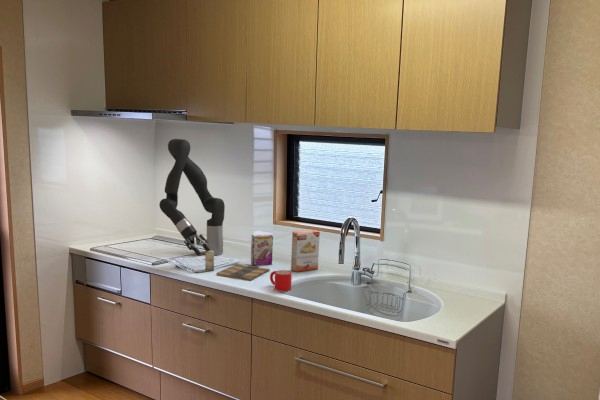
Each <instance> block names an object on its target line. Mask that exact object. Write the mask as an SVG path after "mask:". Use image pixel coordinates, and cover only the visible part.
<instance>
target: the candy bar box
mask: <svg viewBox="0 0 600 400" xmlns="http://www.w3.org/2000/svg"><path fill="white" fill-rule="evenodd" d="M273 244H274V236H273V235H272V234H271V233H270V234H269V233H268V234H267V233H266V234H251V247H250V249H251V251H250V264H251V266H256V267H257V266H269V265H273V247H274V246H273Z"/></svg>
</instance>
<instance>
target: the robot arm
mask: <svg viewBox="0 0 600 400" xmlns="http://www.w3.org/2000/svg"><path fill="white" fill-rule="evenodd" d="M167 149H168V152H169V154H170V155H171V157H172V158H173V159H174V160H175V161H174V164H173V166H172V168H171V169H170V172H169V173H168V174H167V178H166V181H165V186H164V193H165V194H166V198H163V199H161V200H160V201H159V204H158V205H159V209H160V211H161V212H162V213H163V214H164V215H165V216H166V217H167V218H168V219H169V220H170V221H171V222H172V224H173V225H174V226H175V227H176V230H177V231H178V232H179V234H180V235H181V236H182V237H183V239H184V241H183V242H184V244H185V246H186V248H187V249H188V250H190V251H193V252H194V254H196V255H197V256H200V255H201V254H202V253H201V251H200V250H199V248H198V247H197V245H198V246H201V247H203V249H204V250H205V252H206V251H214V256H221V255H223V253H224V235H223V231H224V230H223V229H224V228H223V227H224V226H223V225H224V221H225V207H226V206H225V201H224V200H223V199H221V198H219V197H214V196H213V195H212V194H211V193H210V191H209V189H208V180H207V177H206V175H205V173H204V172H203V170H202V169H201V167H199V165H198V164H196V163H195V162H194V161H193V160H192V159H191V158H190V157H189V156H190V152H191V144H190V142H189V141H188V140H187V139H182V138H181V139H180V138H173V139H170V140H169V142H168V143H167ZM182 174H184V175H185V177H186V179H187V180H188V183H190V185H191V186H192V188H193V190H194V192H195V193H196V195H197V196H198V198H199V200H200V202H201V204H202V206H203V209H204V210H205V211H206V212H207V213H210V214H211V218H208V219H207V220H206V238H205V236H204V235H203V234H202V233H201V234H197V232H198V231H197V229H196V228H195V227H194V226H193V224H192V223H191V222H190V220H189V219H188V218H187V217H186V216H185V215H184V213H183V212H182V211H180V210H178V209H177V207H178V203H179V202H178V201H179V200H178V199H179V197H178V196H179V194H178V193H179V188H180V183H181V179H182Z"/></svg>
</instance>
